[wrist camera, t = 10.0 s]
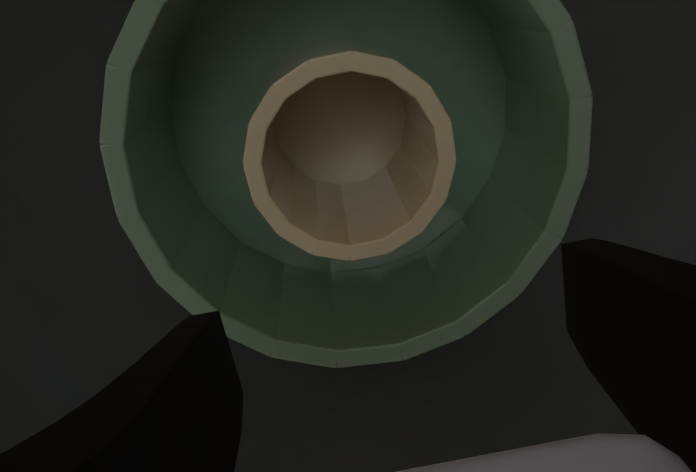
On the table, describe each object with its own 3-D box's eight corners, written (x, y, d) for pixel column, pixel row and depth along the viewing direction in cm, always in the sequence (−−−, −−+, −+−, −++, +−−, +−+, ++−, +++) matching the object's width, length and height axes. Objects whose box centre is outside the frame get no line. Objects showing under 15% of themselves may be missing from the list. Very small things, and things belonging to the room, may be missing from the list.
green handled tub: (584, 130, 22) (680, 175, 16) (326, 336, 24) (330, 439, 18) (273, -299, 17) (257, -449, 11) (-12, 13, 19) (-144, 17, 14)
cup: (402, 23, 19) (440, 32, 14) (425, 176, 21) (467, 238, 16) (245, 56, 19) (219, 77, 14) (281, 205, 21) (272, 277, 16)
